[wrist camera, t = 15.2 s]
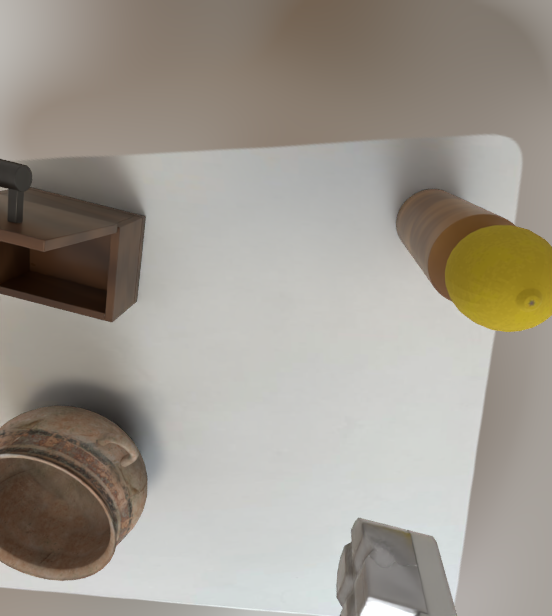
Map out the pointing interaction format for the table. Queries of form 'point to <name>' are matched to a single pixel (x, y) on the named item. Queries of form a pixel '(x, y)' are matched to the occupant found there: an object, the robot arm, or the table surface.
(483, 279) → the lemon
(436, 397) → the table surface
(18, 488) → the cooking pot
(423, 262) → the stand
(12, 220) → the lid
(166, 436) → the table surface
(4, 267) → the chest
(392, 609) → the robot arm
